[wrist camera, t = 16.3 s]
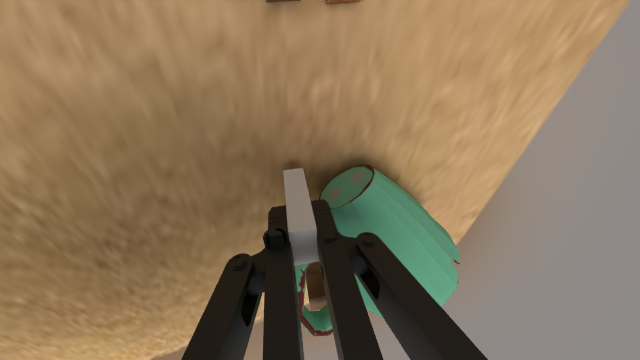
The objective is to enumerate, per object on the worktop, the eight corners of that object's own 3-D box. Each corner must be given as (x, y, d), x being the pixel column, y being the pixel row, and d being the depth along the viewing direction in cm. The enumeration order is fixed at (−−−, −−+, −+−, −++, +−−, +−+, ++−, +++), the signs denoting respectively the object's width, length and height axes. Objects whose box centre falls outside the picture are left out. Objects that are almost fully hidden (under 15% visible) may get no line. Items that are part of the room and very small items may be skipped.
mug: (445, 154, 13) (492, 259, 17) (363, 139, 22) (405, 210, 26) (240, 330, 12) (341, 402, 16) (240, 239, 21) (304, 298, 25)
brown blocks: (304, 267, 27) (310, 310, 23) (235, -207, 10) (209, -387, 6) (359, 257, 28) (375, 297, 23) (384, -199, 11) (458, -350, 6)
